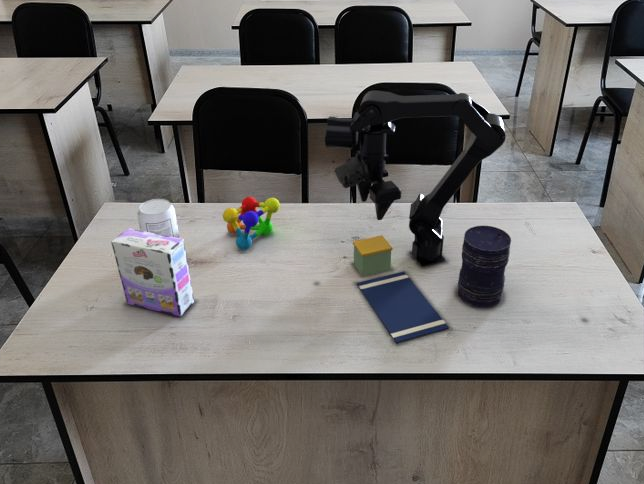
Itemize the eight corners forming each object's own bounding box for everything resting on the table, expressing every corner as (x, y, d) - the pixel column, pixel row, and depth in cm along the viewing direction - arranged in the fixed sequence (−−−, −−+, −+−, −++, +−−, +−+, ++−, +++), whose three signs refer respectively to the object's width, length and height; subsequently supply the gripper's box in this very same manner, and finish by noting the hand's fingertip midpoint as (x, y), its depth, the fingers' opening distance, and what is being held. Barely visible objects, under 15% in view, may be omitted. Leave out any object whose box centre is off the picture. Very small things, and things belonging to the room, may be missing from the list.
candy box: (195, 301, 131) (185, 238, 123) (180, 318, 127) (168, 253, 118) (142, 288, 135) (128, 226, 127) (125, 304, 130) (109, 240, 122)
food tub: (381, 256, 146) (382, 234, 143) (391, 269, 142) (392, 247, 138) (352, 263, 144) (352, 241, 141) (361, 277, 139) (362, 254, 136)
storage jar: (471, 312, 128) (479, 254, 121) (448, 286, 136) (454, 230, 128) (511, 302, 132) (521, 245, 124) (486, 276, 139) (494, 221, 132)
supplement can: (140, 266, 143) (128, 211, 135) (162, 248, 149) (152, 194, 141) (168, 273, 140) (158, 218, 132) (190, 255, 146) (180, 201, 139)
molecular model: (221, 231, 156) (247, 180, 155) (261, 253, 156) (288, 202, 155) (204, 236, 141) (234, 179, 140) (249, 260, 141) (279, 204, 140)
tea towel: (404, 272, 141) (404, 271, 141) (448, 328, 124) (449, 327, 124) (356, 284, 137) (356, 282, 137) (396, 343, 120) (396, 342, 120)
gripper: (324, 139, 138) (325, 198, 146) (354, 173, 123) (354, 237, 132) (369, 131, 142) (368, 190, 150) (403, 164, 127) (400, 227, 135)
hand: (371, 210), depth 141 cm, fingers open, 9 cm apart
